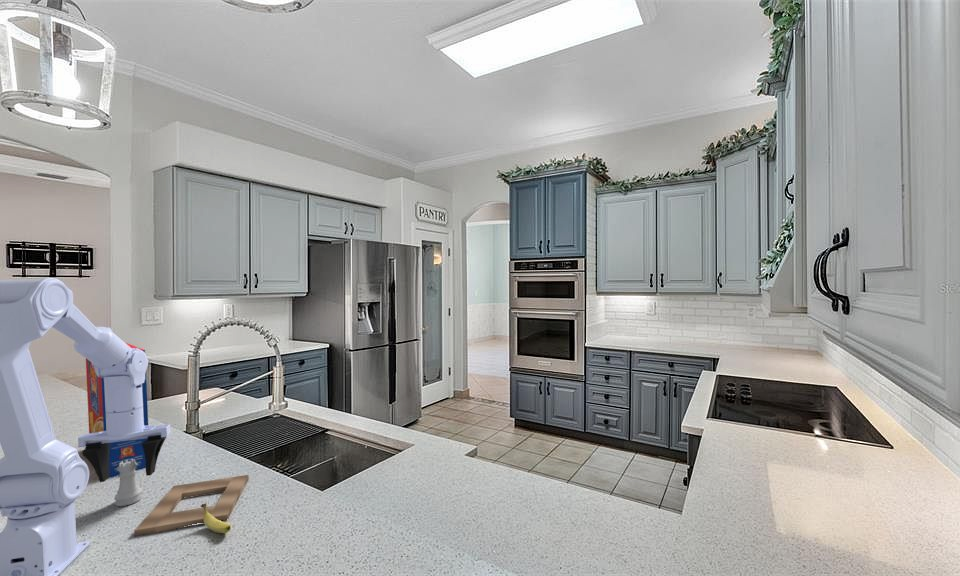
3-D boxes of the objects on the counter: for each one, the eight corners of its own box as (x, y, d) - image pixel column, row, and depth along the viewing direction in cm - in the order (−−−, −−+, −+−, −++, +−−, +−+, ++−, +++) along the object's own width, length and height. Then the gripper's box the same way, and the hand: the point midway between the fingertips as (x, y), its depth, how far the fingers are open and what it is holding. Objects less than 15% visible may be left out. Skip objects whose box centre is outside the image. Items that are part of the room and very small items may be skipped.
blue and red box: (89, 449, 114) (85, 345, 114) (128, 440, 120) (123, 342, 120) (105, 478, 96) (100, 355, 95) (150, 466, 102) (145, 350, 101)
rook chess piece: (126, 508, 82) (124, 467, 82) (107, 506, 83) (106, 465, 83) (148, 496, 86) (147, 457, 86) (130, 495, 87) (129, 456, 87)
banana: (198, 528, 74) (197, 505, 74) (208, 523, 76) (207, 501, 76) (225, 540, 70) (224, 516, 70) (235, 535, 72) (234, 511, 72)
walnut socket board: (227, 519, 77) (227, 514, 77) (134, 536, 72) (134, 530, 72) (248, 479, 93) (248, 474, 93) (173, 490, 89) (173, 485, 89)
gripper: (175, 399, 90) (178, 462, 91) (91, 407, 86) (94, 474, 86) (161, 408, 84) (164, 477, 84) (69, 418, 79) (73, 490, 80)
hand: (127, 476), depth 85 cm, fingers open, 7 cm apart
